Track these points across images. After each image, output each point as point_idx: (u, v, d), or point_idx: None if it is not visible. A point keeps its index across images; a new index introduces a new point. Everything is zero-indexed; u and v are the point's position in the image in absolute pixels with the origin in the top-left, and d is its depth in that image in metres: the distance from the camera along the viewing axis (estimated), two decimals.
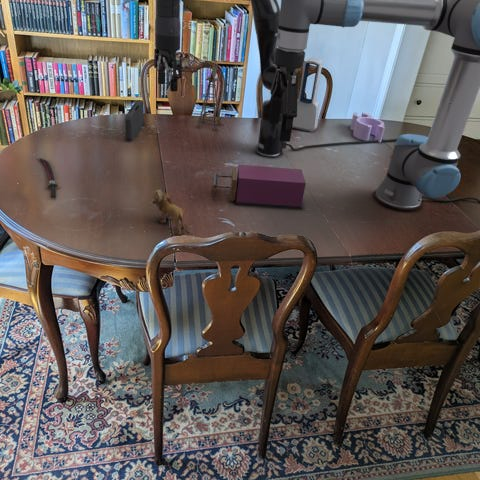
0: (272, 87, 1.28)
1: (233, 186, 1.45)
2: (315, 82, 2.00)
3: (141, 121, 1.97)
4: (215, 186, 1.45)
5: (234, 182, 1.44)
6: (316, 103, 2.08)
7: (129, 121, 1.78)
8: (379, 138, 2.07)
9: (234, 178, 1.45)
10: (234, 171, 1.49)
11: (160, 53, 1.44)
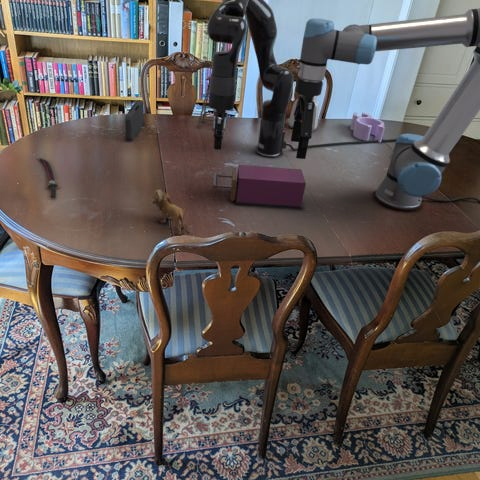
0: (295, 110, 1.46)
1: (233, 186, 1.45)
2: None
3: (141, 121, 1.97)
4: (215, 186, 1.45)
5: (234, 182, 1.44)
6: (316, 103, 2.08)
7: (129, 121, 1.78)
8: (379, 138, 2.07)
9: (234, 178, 1.45)
10: (234, 171, 1.49)
11: (224, 116, 1.36)
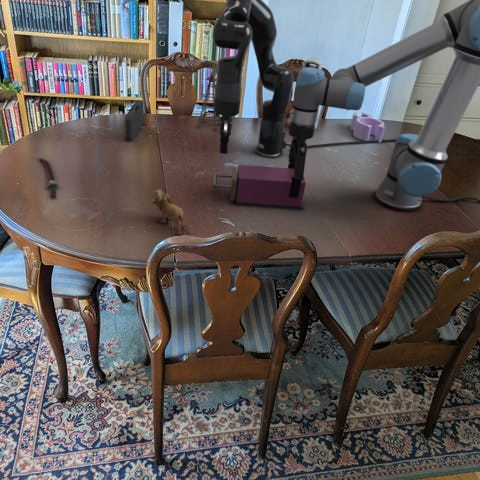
0: (289, 152, 1.52)
1: (233, 186, 1.45)
2: None
3: (141, 121, 1.97)
4: (215, 186, 1.45)
5: (234, 182, 1.44)
6: None
7: (129, 121, 1.78)
8: (379, 138, 2.07)
9: (234, 178, 1.45)
10: (234, 171, 1.49)
11: (229, 121, 1.35)
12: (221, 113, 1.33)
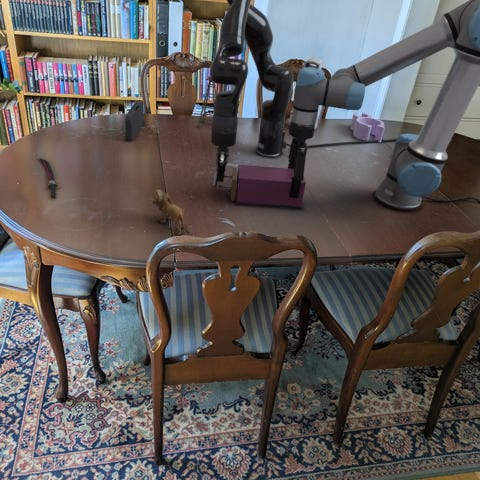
0: (289, 152, 1.52)
1: (233, 186, 1.45)
2: None
3: (141, 121, 1.97)
4: (215, 186, 1.45)
5: (234, 182, 1.44)
6: None
7: (129, 121, 1.78)
8: (379, 138, 2.07)
9: (234, 178, 1.45)
10: (234, 171, 1.49)
11: (226, 152, 1.41)
12: (218, 144, 1.39)
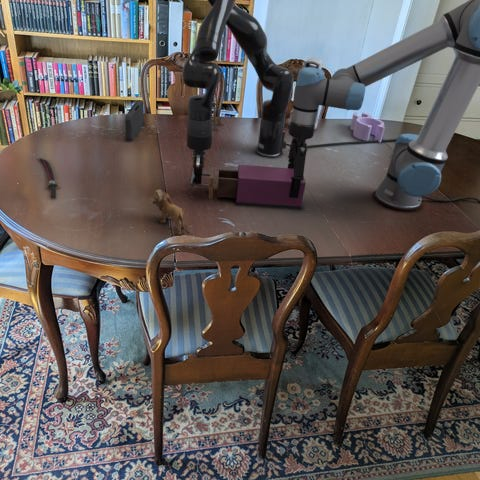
0: (289, 152, 1.52)
1: (210, 184, 1.45)
2: None
3: (141, 121, 1.97)
4: (192, 184, 1.45)
5: (211, 180, 1.44)
6: None
7: (129, 121, 1.78)
8: (379, 138, 2.07)
9: (211, 176, 1.44)
10: (212, 169, 1.49)
11: (202, 155, 1.41)
12: (193, 148, 1.39)
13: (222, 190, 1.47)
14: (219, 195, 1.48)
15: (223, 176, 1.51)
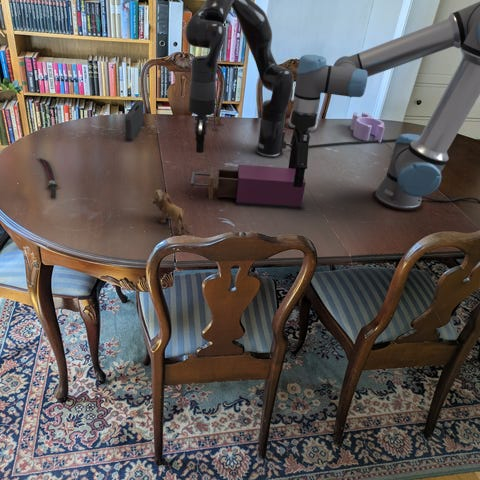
0: (292, 139, 1.51)
1: (210, 184, 1.45)
2: None
3: (141, 121, 1.97)
4: (192, 184, 1.45)
5: (211, 180, 1.44)
6: None
7: (129, 121, 1.78)
8: (379, 138, 2.07)
9: (211, 176, 1.44)
10: (212, 169, 1.49)
11: (204, 120, 1.35)
12: (196, 112, 1.33)
13: (222, 190, 1.47)
14: (219, 195, 1.48)
15: (223, 176, 1.51)
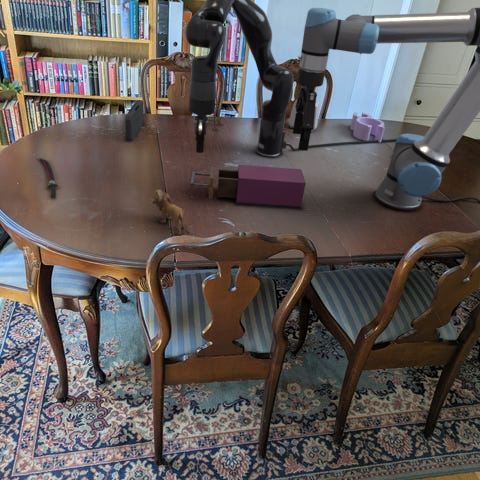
0: (297, 102, 1.44)
1: (210, 184, 1.45)
2: None
3: (141, 121, 1.97)
4: (192, 184, 1.45)
5: (211, 180, 1.44)
6: (316, 103, 2.08)
7: (129, 121, 1.78)
8: (379, 138, 2.07)
9: (211, 176, 1.44)
10: (212, 169, 1.49)
11: (204, 120, 1.35)
12: (196, 112, 1.33)
13: (222, 190, 1.47)
14: (219, 195, 1.48)
15: (223, 176, 1.51)
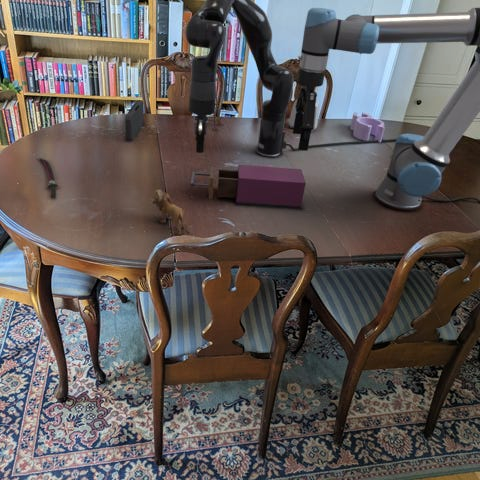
0: (297, 102, 1.44)
1: (210, 184, 1.45)
2: None
3: (141, 121, 1.97)
4: (192, 184, 1.45)
5: (211, 180, 1.44)
6: (316, 103, 2.08)
7: (129, 121, 1.78)
8: (379, 138, 2.07)
9: (211, 176, 1.44)
10: (212, 169, 1.49)
11: (204, 120, 1.35)
12: (196, 112, 1.33)
13: (222, 190, 1.47)
14: (219, 195, 1.48)
15: (223, 176, 1.51)
